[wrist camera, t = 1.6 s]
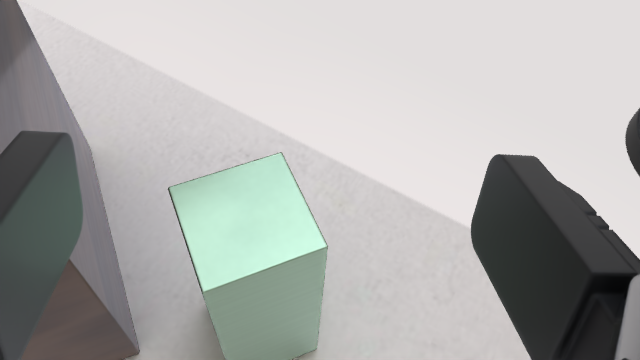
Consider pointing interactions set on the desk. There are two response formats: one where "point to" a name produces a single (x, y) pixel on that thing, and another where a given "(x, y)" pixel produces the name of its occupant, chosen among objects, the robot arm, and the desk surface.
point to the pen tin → (255, 258)
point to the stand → (95, 239)
